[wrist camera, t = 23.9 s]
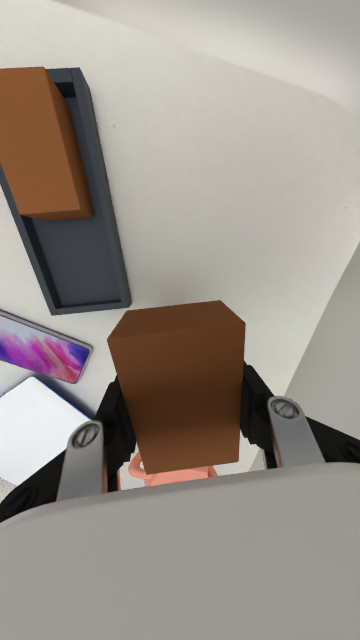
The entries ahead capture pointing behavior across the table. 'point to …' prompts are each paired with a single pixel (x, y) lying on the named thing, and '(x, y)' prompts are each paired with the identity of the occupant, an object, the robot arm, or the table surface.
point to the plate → (33, 428)
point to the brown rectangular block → (40, 147)
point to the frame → (77, 225)
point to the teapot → (168, 473)
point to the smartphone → (41, 349)
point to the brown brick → (182, 383)
